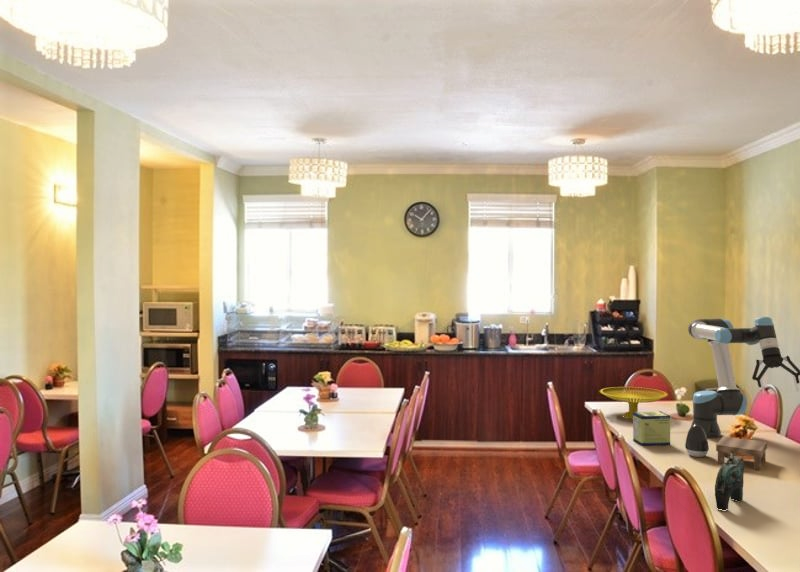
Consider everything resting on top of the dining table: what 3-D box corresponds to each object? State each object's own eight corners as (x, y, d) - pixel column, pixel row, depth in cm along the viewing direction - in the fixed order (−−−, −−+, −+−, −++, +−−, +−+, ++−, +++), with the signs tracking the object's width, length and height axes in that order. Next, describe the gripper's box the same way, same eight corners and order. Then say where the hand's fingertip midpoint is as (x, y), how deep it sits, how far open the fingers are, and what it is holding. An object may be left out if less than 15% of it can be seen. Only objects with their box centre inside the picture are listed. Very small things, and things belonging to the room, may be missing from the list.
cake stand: (585, 413, 381) (585, 389, 380) (633, 406, 396) (633, 384, 396) (633, 426, 343) (632, 401, 343) (683, 419, 359) (683, 394, 359)
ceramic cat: (731, 496, 233) (731, 445, 233) (749, 500, 228) (749, 448, 228) (711, 509, 220) (710, 455, 220) (730, 514, 215) (729, 459, 215)
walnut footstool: (716, 464, 273) (716, 444, 273) (723, 454, 287) (723, 436, 287) (761, 471, 262) (761, 451, 262) (766, 461, 276) (766, 441, 276)
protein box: (671, 445, 305) (670, 415, 305) (641, 446, 304) (641, 416, 304) (661, 439, 315) (660, 410, 315) (632, 440, 315) (632, 411, 315)
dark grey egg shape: (706, 453, 290) (706, 422, 289) (710, 459, 280) (710, 427, 280) (684, 451, 293) (683, 421, 293) (686, 457, 283) (686, 426, 283)
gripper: (740, 350, 289) (749, 393, 281) (800, 342, 276) (812, 387, 268) (741, 354, 295) (751, 396, 287) (800, 346, 282) (812, 390, 274)
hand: (780, 392), depth 277 cm, fingers open, 13 cm apart
